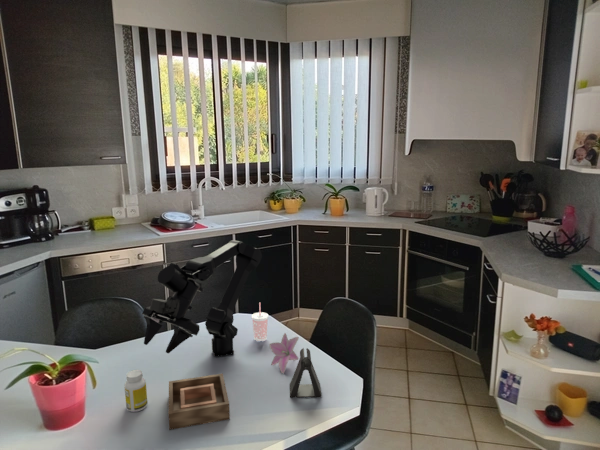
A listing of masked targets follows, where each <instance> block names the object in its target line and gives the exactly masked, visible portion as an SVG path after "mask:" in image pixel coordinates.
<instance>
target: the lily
mask: <svg viewBox="0 0 600 450" xmlns="http://www.w3.org/2000/svg"><path fill="white" fill-rule="evenodd" d="M298 341H299V336H294V337H292V338H290V339H288V335H287V333H286V332H284V334H283V335H282V338H281V341H280V342H272V343H269V344H268V345H269V349H270V350H271V352H272V353H273V354H274V356H273V359H272V361H271V364H270V366H274V365H277V364H278V367H279V370H280V373H281V374H282V373H283V375H284V374H285V371H286V369H287V365H288V362H289V361H299V357H298V356H297V354H296V353H295V351H294V348H295V347H296V345H297V343H298Z"/></svg>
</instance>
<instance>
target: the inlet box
mask: <svg viewBox="0 0 600 450" xmlns="http://www.w3.org/2000/svg"><path fill="white" fill-rule="evenodd" d="M167 409H168V410H167V411H168V427H169V431H172V430H178V429H182V428H187V427H194V426H201V425H205V424H211V423H217V422H223V421H227V420H230V419H231V418H230V417H231V413H230V401H229V396H228V392H227V387H226V382H225V379H224V373H218V374H216V373H215V374H210V375H203V376H195V377H190V378H183V379H177V380H169V381H168V408H167Z"/></svg>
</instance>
